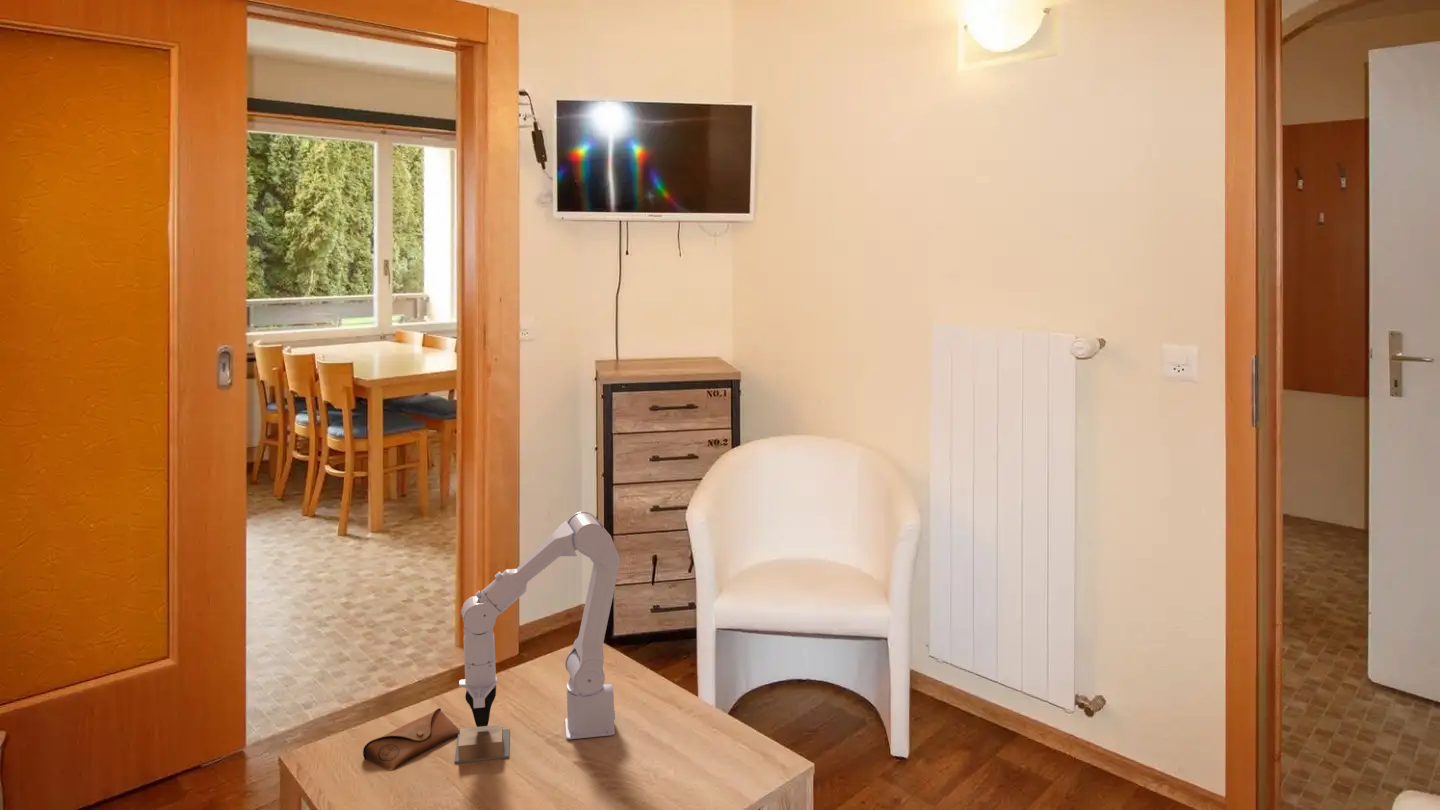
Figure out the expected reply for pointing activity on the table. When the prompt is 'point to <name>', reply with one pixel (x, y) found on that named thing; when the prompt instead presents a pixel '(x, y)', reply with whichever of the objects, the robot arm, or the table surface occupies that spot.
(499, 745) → the brown rectangular block
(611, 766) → the table surface
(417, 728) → the sunglasses case
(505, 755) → the felt mat
